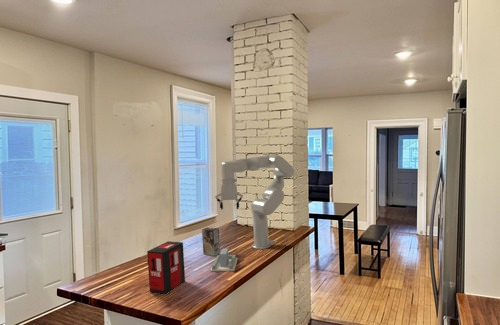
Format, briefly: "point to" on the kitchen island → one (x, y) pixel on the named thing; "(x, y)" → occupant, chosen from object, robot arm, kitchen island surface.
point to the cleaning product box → (166, 267)
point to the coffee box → (211, 241)
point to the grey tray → (230, 265)
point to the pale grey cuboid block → (224, 257)
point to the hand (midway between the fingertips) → (229, 209)
